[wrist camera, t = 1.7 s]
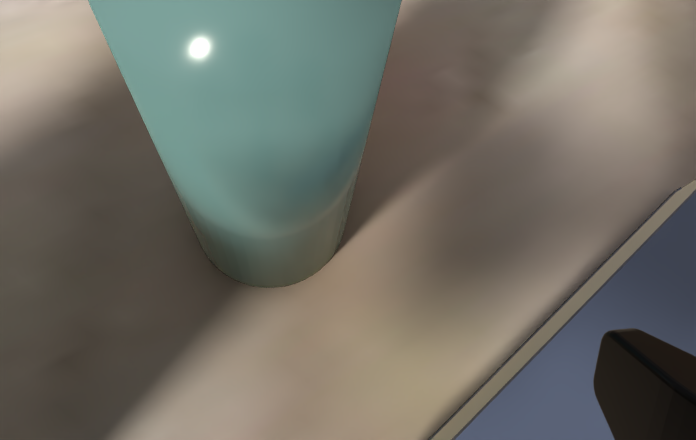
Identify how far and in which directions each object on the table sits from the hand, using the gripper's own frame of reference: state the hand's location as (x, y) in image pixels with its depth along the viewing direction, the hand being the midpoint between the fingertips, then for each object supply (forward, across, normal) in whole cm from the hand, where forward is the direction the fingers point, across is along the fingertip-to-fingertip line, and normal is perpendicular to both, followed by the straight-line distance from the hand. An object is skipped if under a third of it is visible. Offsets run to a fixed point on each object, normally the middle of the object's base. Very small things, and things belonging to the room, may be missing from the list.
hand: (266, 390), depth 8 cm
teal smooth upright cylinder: (+14, 0, +4) cm, 14 cm away
